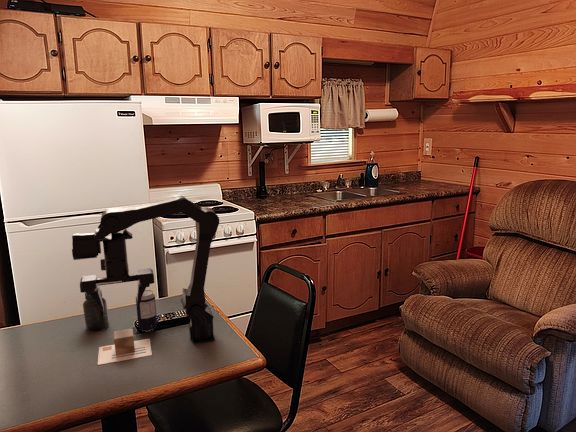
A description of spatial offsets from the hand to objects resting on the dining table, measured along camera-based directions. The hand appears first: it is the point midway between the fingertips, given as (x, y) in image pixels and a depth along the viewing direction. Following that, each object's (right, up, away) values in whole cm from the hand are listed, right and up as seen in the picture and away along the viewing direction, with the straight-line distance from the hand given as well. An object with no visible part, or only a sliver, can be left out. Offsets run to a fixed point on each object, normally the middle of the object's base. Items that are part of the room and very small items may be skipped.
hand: (120, 308), depth 124 cm
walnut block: (0, -12, +3) cm, 13 cm away
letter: (0, -13, +3) cm, 13 cm away
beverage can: (+2, -10, +16) cm, 19 cm away
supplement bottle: (-14, -10, +18) cm, 24 cm away
